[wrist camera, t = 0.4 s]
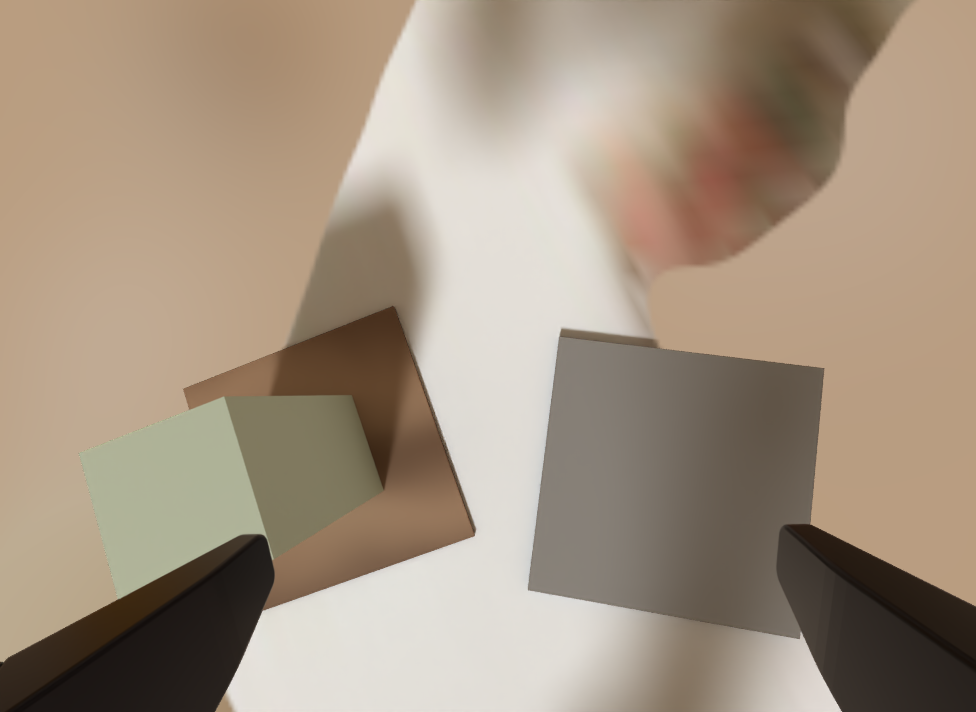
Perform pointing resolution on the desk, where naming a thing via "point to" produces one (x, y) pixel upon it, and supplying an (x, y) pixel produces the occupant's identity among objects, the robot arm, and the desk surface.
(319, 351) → the plate
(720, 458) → the slate mat
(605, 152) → the desk surface
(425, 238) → the desk surface
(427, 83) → the desk surface
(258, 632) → the desk surface
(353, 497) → the sage block
